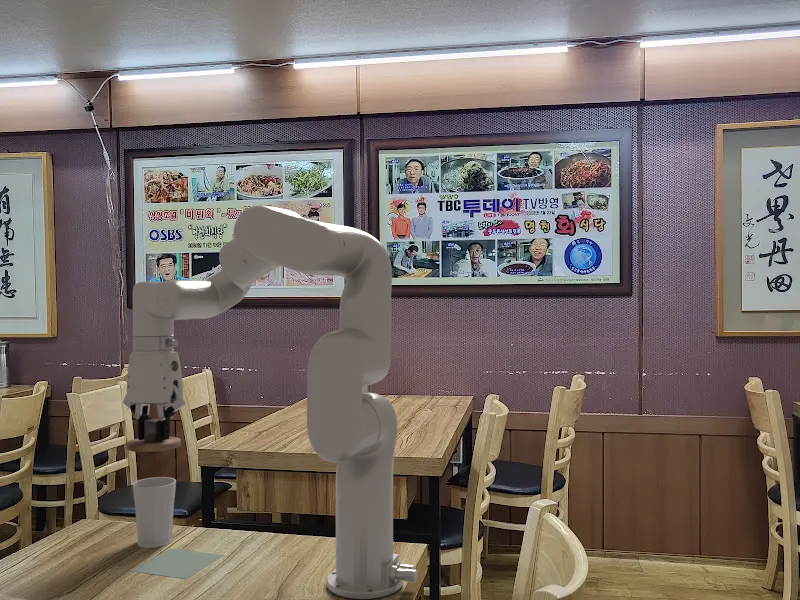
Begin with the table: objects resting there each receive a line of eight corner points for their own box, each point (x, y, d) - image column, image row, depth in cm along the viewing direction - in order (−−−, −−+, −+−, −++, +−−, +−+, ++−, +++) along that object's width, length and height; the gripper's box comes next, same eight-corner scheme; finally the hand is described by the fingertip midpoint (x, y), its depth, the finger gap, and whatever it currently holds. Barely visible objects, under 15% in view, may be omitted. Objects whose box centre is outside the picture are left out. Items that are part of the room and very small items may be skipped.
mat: (223, 557, 130) (223, 555, 130) (186, 581, 119) (186, 578, 119) (170, 550, 133) (170, 548, 133) (129, 573, 122) (129, 570, 122)
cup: (162, 552, 132) (162, 488, 132) (124, 549, 134) (124, 486, 134) (184, 538, 140) (183, 478, 140) (147, 535, 142) (147, 476, 142)
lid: (191, 442, 140) (191, 417, 140) (159, 453, 131) (159, 426, 131) (148, 439, 143) (148, 415, 143) (114, 450, 134) (114, 423, 134)
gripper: (201, 344, 138) (201, 438, 138) (131, 343, 143) (131, 433, 143) (177, 347, 131) (178, 446, 131) (104, 345, 136) (105, 440, 136)
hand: (153, 438), depth 137 cm, fingers closed on lid, 3 cm apart
